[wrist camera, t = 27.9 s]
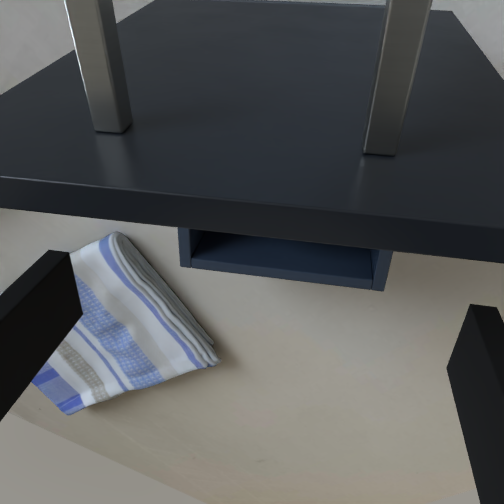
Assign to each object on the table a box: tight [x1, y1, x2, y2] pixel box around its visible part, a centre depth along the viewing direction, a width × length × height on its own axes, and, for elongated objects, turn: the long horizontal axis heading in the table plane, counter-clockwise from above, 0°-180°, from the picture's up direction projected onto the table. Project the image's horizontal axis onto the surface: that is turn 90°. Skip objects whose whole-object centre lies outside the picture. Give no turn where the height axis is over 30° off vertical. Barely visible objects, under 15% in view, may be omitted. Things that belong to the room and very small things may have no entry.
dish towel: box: [0, 232, 221, 415], centre depth 47 cm, size 17×24×3 cm
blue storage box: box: [178, 0, 393, 291], centre depth 29 cm, size 16×14×9 cm
